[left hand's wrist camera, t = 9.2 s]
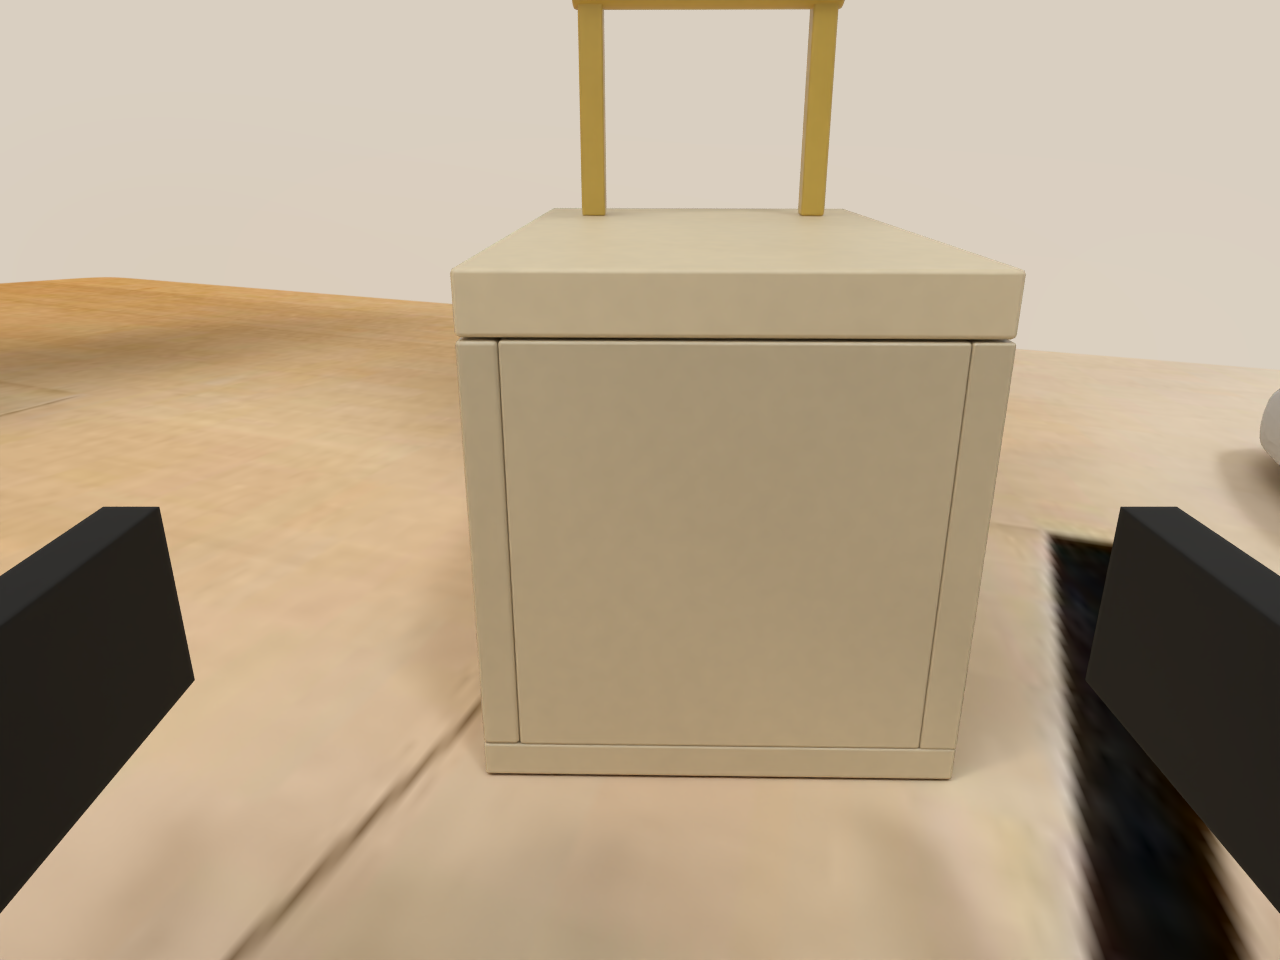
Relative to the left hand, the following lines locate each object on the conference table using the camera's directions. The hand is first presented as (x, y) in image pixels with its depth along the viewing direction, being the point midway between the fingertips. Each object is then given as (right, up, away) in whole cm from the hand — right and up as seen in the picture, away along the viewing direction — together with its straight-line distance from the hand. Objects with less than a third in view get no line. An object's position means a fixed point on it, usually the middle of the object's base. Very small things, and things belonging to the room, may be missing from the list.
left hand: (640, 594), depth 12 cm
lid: (+2, +7, +11) cm, 13 cm away
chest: (+2, -2, +14) cm, 14 cm away
